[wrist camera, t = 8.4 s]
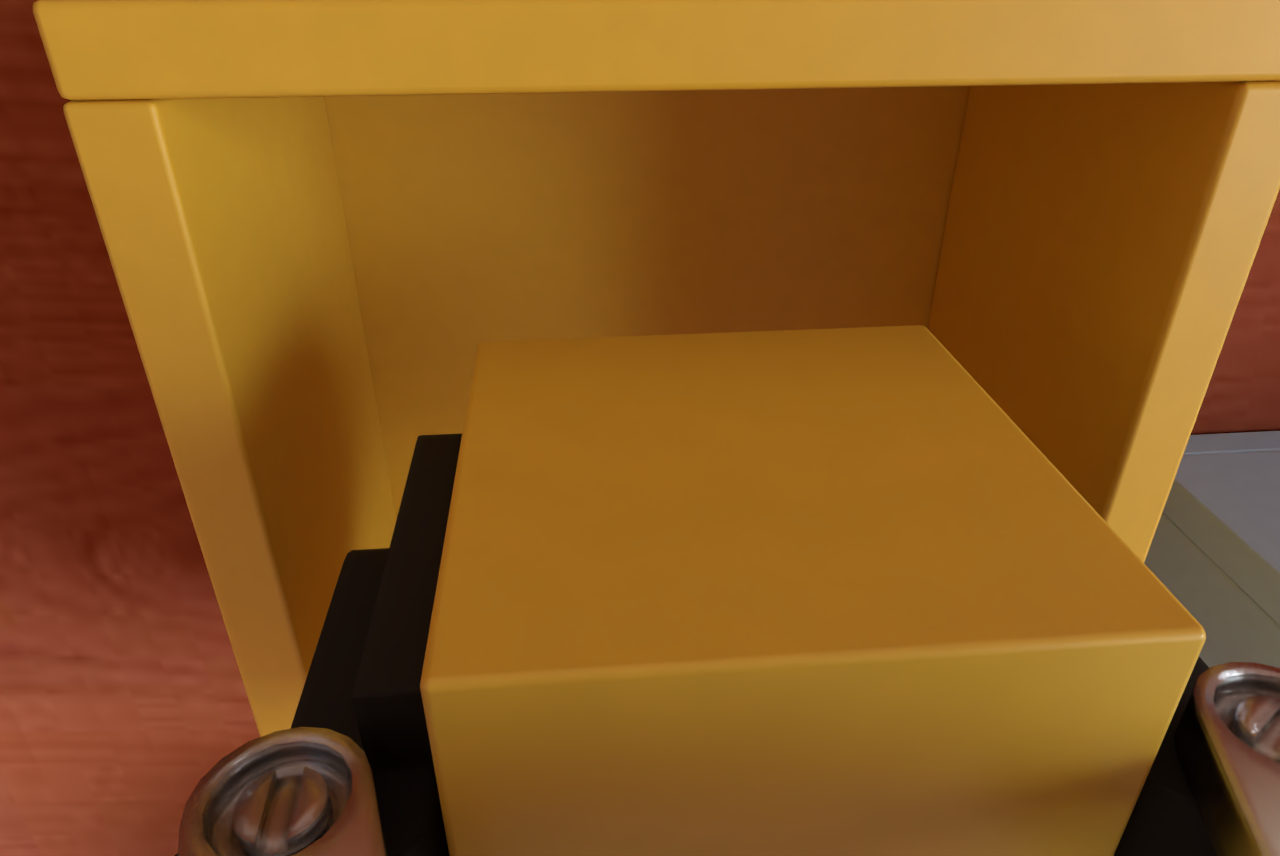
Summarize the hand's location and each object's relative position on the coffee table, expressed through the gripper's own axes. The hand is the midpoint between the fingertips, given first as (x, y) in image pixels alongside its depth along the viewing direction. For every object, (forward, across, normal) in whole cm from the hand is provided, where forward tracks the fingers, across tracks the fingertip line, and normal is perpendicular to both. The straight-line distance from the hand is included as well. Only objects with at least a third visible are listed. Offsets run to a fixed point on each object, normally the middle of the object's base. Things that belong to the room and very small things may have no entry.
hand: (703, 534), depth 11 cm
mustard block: (0, 0, 0) cm, 0 cm away
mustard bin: (+7, 0, 0) cm, 7 cm away
